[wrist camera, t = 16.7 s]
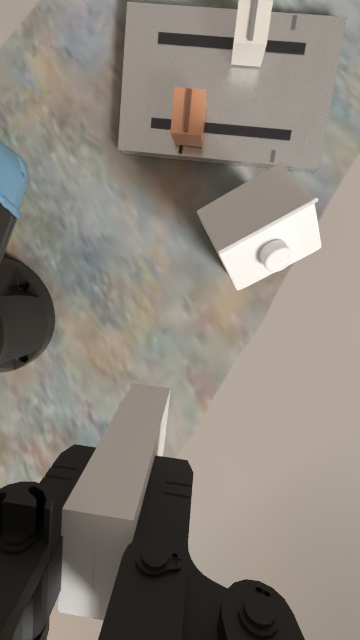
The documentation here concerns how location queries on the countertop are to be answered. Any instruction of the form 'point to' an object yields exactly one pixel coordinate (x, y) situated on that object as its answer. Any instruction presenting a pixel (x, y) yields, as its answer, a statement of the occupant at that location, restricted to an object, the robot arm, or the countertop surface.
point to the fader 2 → (251, 32)
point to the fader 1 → (188, 116)
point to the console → (229, 86)
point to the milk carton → (262, 226)
